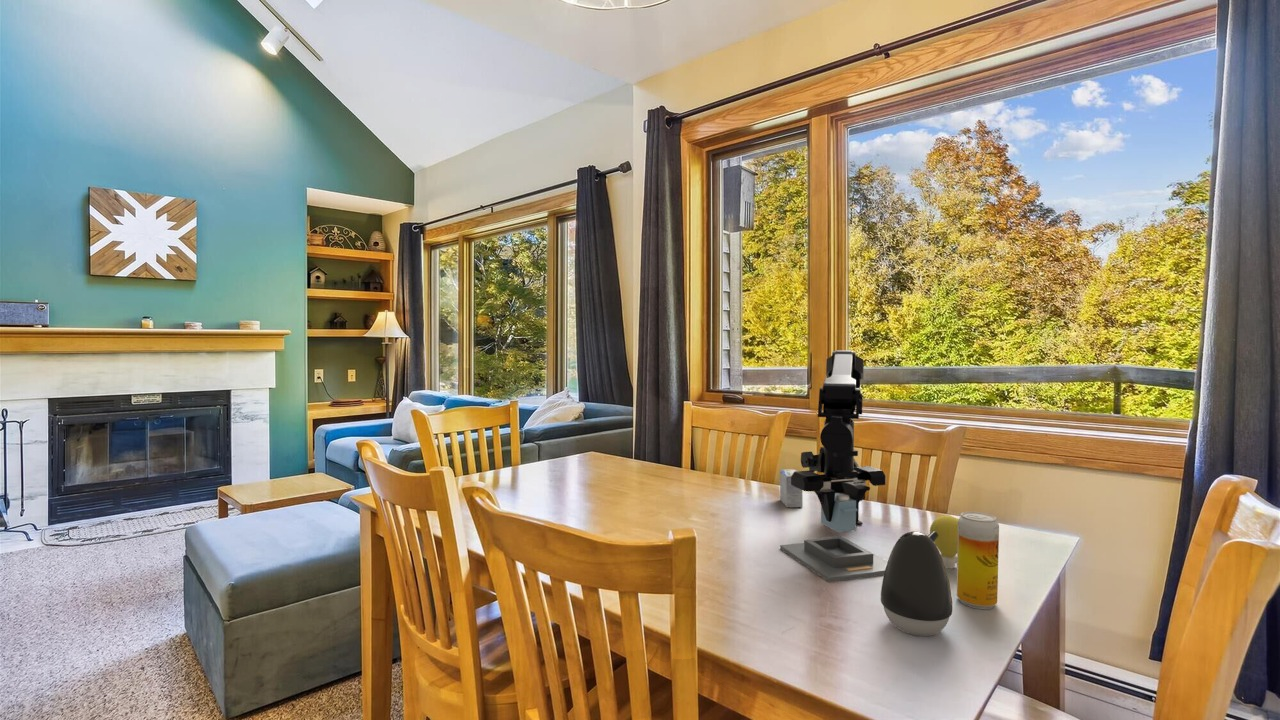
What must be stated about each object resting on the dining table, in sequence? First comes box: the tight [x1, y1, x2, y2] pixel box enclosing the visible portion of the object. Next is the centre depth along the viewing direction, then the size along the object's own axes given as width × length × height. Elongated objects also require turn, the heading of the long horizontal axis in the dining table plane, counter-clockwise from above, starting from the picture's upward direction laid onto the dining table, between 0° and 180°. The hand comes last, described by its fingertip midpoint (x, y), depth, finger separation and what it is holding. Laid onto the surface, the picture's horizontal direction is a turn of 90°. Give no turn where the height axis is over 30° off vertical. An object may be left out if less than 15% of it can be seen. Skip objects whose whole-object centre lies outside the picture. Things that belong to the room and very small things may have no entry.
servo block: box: [820, 493, 858, 533], centre depth 122 cm, size 4×8×7 cm, turn 16°
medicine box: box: [779, 469, 804, 508], centre depth 163 cm, size 8×4×9 cm, turn 179°
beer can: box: [956, 511, 1000, 610], centre depth 102 cm, size 6×6×15 cm
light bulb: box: [929, 515, 959, 569], centre depth 119 cm, size 7×7×10 cm
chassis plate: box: [779, 535, 888, 583], centre depth 122 cm, size 16×18×3 cm
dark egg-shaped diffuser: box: [880, 530, 953, 637], centre depth 94 cm, size 10×10×15 cm
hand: (838, 520), depth 122 cm, fingers closed on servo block, 4 cm apart
